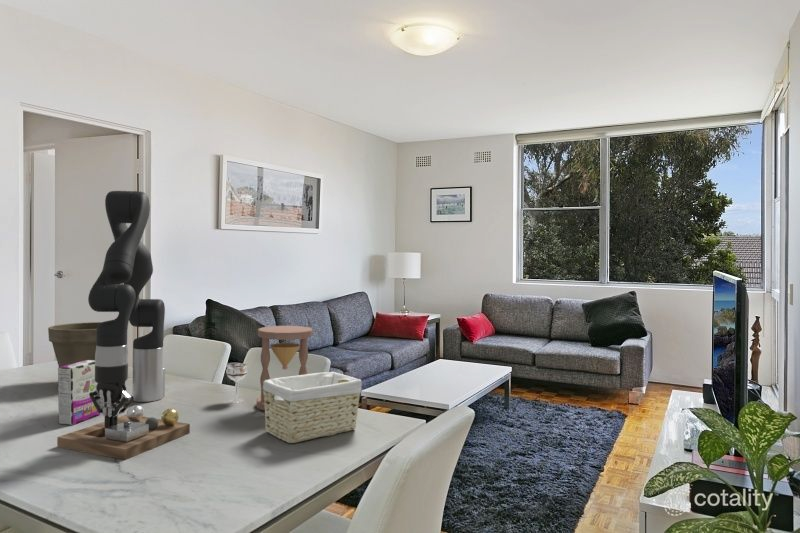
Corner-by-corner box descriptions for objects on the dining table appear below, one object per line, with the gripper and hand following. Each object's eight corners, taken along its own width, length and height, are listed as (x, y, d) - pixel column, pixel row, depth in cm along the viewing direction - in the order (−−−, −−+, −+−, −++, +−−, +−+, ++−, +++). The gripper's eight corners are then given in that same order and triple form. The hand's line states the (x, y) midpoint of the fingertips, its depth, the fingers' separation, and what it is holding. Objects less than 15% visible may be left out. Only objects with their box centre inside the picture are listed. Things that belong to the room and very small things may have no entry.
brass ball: (169, 421, 157) (169, 406, 157) (182, 423, 155) (182, 407, 155) (157, 426, 153) (157, 410, 152) (170, 428, 151) (170, 411, 151)
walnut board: (127, 423, 163) (127, 414, 163) (189, 433, 155) (189, 423, 155) (57, 446, 142) (57, 436, 142) (125, 459, 135) (125, 449, 135)
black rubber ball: (151, 427, 152) (151, 415, 152) (160, 428, 151) (161, 416, 151) (142, 430, 149) (142, 418, 149) (151, 432, 148) (151, 419, 148)
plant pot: (52, 379, 215) (53, 322, 214) (125, 374, 225) (125, 320, 224) (42, 394, 192) (43, 330, 191) (124, 389, 202) (124, 328, 202)
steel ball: (135, 418, 160) (135, 402, 159) (147, 420, 158) (148, 404, 158) (122, 422, 155) (123, 406, 155) (135, 424, 154) (135, 408, 154)
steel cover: (127, 430, 148) (127, 417, 148) (148, 433, 146) (148, 420, 145) (104, 437, 141) (105, 424, 141) (126, 441, 139) (126, 427, 139)
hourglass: (305, 397, 197) (306, 324, 196) (316, 410, 180) (318, 331, 180) (253, 400, 190) (254, 326, 190) (259, 414, 174) (261, 333, 173)
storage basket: (331, 417, 173) (332, 369, 173) (363, 430, 161) (364, 379, 161) (259, 432, 158) (260, 379, 157) (288, 448, 145) (289, 390, 145)
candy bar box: (86, 413, 171) (86, 359, 171) (100, 415, 170) (101, 360, 170) (56, 424, 160) (57, 366, 160) (72, 425, 159) (72, 367, 159)
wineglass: (250, 399, 192) (250, 363, 192) (242, 404, 186) (243, 367, 185) (230, 398, 193) (231, 362, 193) (222, 403, 186) (223, 366, 186)
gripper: (143, 362, 146) (142, 429, 146) (104, 357, 151) (103, 423, 151) (119, 367, 139) (118, 438, 139) (79, 362, 144) (78, 431, 144)
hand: (110, 430), depth 145 cm, fingers closed
